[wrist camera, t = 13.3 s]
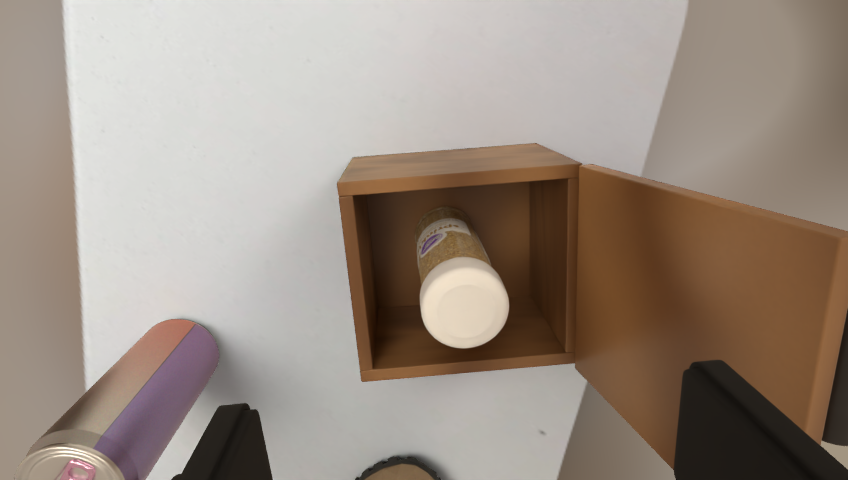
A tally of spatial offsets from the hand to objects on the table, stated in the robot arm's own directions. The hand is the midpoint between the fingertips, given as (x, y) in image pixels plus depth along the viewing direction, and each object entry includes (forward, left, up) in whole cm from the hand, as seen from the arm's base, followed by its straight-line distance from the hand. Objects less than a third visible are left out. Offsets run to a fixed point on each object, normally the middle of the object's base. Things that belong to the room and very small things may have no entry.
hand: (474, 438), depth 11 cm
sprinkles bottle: (+4, +1, -28) cm, 28 cm away
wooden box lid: (+4, +10, -11) cm, 15 cm away
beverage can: (+12, -20, -28) cm, 37 cm away
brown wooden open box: (+4, +2, -28) cm, 29 cm away
